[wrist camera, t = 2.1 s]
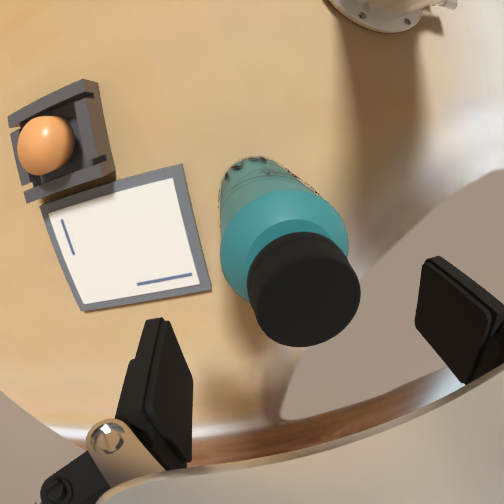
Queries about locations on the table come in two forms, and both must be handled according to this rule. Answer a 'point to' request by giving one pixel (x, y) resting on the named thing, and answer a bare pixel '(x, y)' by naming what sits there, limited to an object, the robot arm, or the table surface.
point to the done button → (45, 144)
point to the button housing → (86, 138)
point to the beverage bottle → (286, 254)
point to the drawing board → (128, 240)
